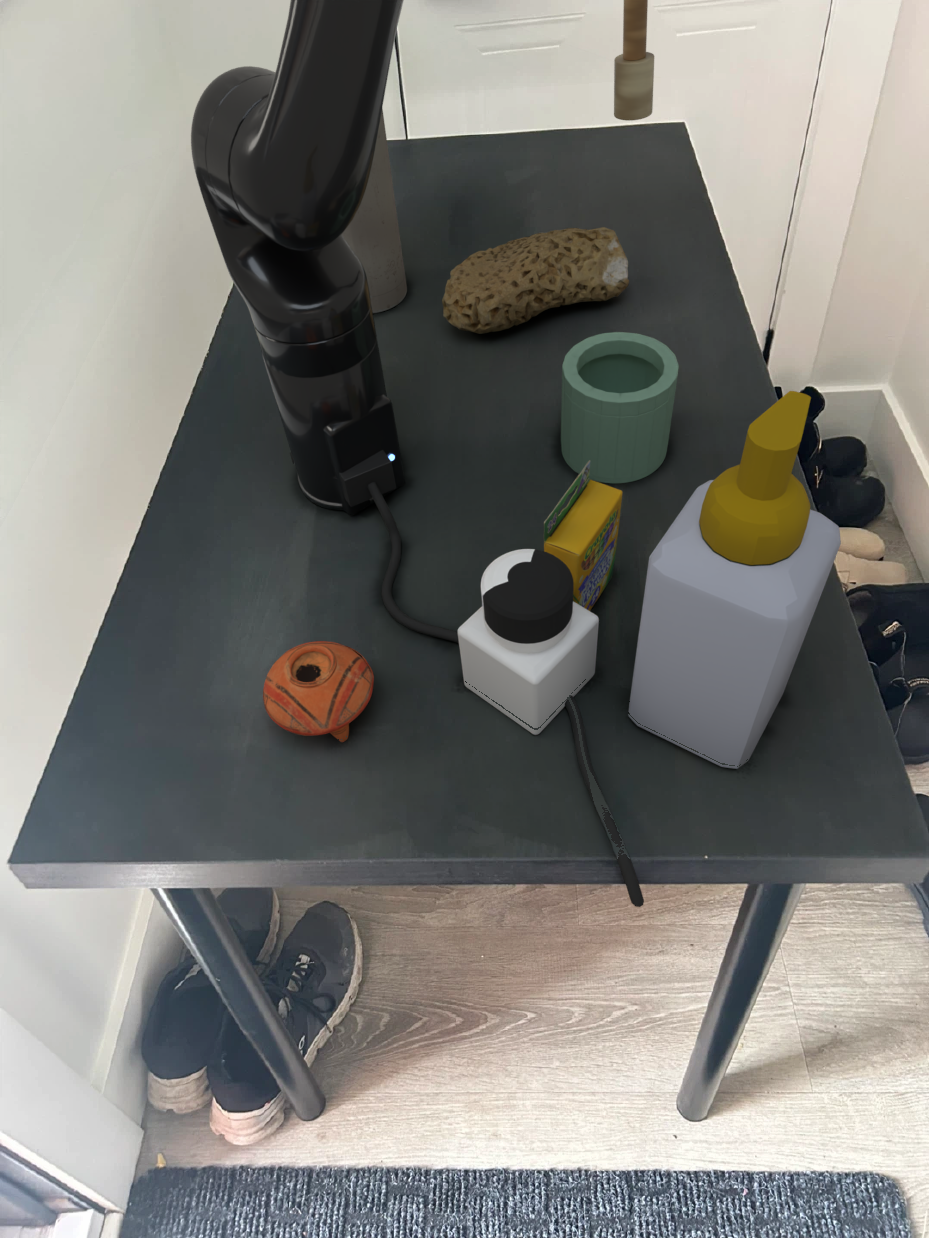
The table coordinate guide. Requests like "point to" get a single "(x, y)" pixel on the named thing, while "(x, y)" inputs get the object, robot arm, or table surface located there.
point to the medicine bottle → (528, 638)
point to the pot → (318, 689)
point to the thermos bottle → (379, 232)
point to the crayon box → (586, 535)
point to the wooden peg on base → (634, 66)
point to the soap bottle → (733, 597)
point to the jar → (617, 405)
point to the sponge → (534, 278)
